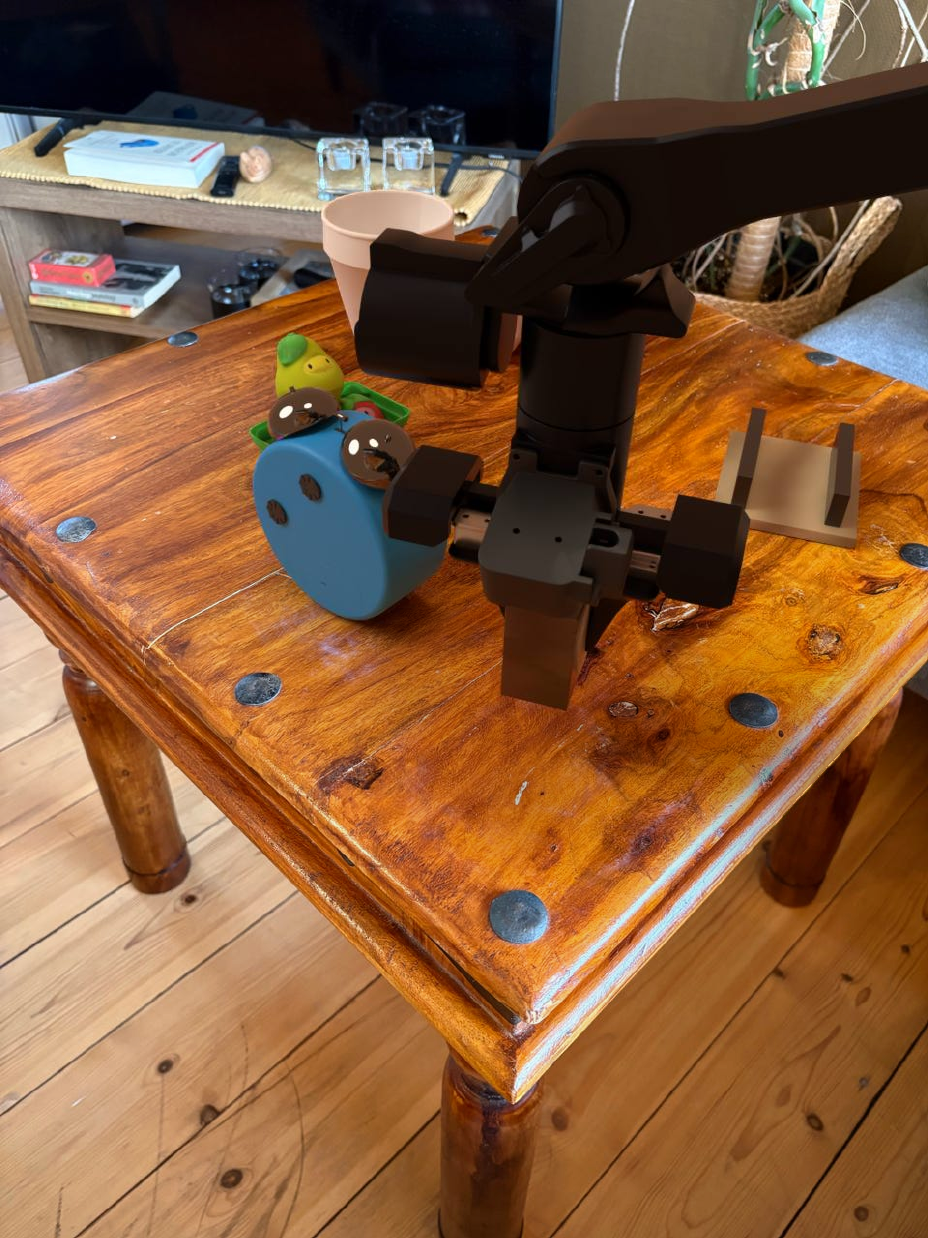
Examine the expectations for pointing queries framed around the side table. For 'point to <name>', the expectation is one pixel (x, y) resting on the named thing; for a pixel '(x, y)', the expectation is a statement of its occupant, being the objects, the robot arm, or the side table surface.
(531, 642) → the dark brown block
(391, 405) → the fruit basket
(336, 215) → the cup
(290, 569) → the alarm clock
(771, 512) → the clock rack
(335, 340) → the side table surface
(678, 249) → the robot arm
